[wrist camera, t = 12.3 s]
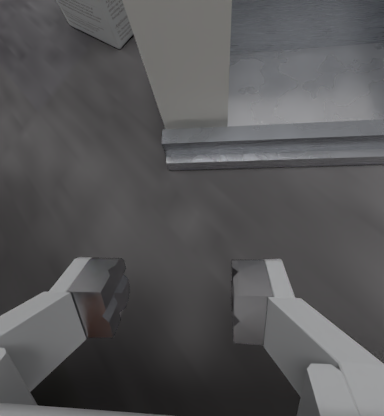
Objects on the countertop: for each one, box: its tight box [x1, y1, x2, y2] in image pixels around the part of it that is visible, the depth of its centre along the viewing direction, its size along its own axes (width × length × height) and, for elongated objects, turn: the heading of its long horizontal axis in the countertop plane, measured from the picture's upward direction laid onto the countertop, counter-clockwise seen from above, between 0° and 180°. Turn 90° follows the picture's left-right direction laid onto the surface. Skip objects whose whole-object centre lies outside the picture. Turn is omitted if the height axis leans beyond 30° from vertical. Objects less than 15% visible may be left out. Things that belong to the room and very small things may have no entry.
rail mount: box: [162, 0, 384, 170], centre depth 16 cm, size 16×10×6 cm, turn 89°
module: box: [122, 0, 232, 129], centre depth 14 cm, size 4×6×10 cm, turn 179°
